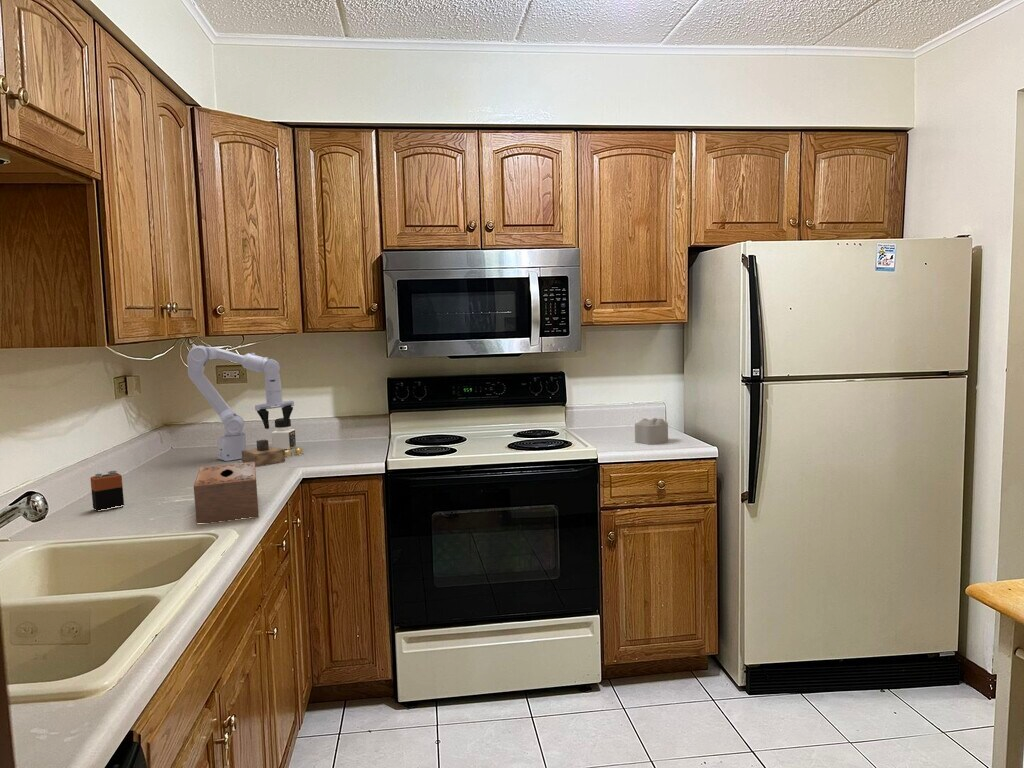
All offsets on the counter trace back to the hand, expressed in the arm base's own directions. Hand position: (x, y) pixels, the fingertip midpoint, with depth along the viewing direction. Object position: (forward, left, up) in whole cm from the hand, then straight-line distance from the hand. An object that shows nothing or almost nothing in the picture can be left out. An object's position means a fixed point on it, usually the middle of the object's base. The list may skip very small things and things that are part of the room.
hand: (276, 427), depth 264 cm
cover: (-10, -11, -10) cm, 18 cm away
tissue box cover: (-44, -66, -11) cm, 80 cm away
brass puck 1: (0, -7, -11) cm, 13 cm away
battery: (-66, -39, -11) cm, 78 cm away
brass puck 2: (+5, -7, -11) cm, 13 cm away
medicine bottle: (+8, +11, -11) cm, 17 cm away
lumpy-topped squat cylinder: (+104, -97, -11) cm, 143 cm away
